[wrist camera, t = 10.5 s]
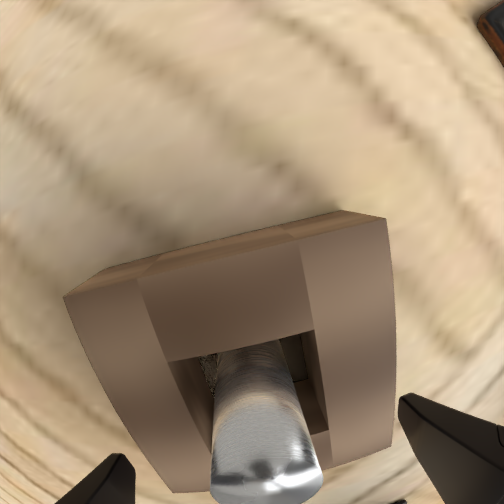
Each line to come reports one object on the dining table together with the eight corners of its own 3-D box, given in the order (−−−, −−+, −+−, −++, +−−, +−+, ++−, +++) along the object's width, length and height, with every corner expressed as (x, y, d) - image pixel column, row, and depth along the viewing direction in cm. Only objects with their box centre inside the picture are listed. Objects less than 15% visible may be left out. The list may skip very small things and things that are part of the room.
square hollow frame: (364, 401, 15) (391, 446, 11) (180, 442, 15) (172, 492, 11) (342, 210, 13) (386, 218, 9) (105, 268, 13) (62, 297, 9)
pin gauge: (285, 368, 14) (326, 499, 6) (227, 381, 14) (228, 517, 6) (274, 316, 14) (318, 445, 6) (210, 330, 14) (193, 468, 6)
